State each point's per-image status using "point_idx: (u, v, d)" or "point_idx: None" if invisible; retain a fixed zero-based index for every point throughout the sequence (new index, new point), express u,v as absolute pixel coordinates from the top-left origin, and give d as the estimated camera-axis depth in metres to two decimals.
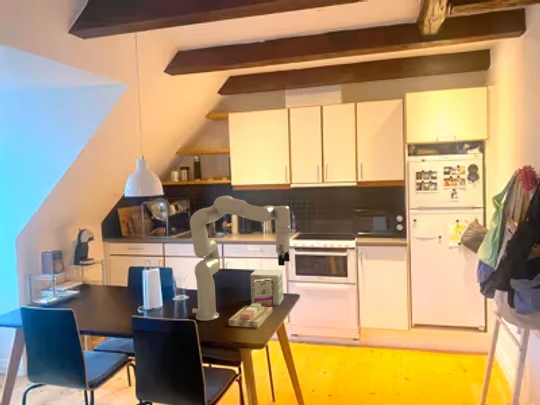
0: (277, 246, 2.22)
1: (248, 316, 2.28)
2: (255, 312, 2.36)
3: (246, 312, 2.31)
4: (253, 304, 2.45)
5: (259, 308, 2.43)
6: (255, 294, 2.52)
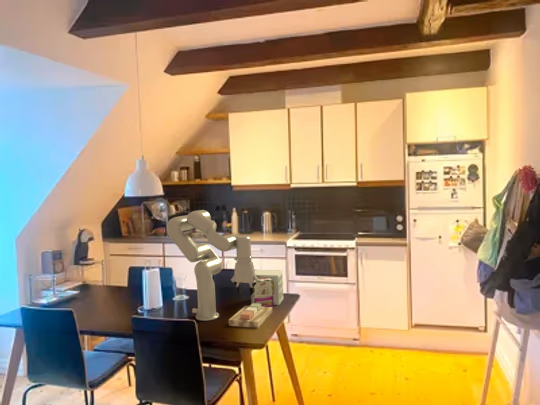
0: (252, 275, 2.26)
1: (248, 316, 2.28)
2: (255, 312, 2.36)
3: (246, 312, 2.31)
4: (253, 304, 2.45)
5: (259, 308, 2.43)
6: (255, 294, 2.52)
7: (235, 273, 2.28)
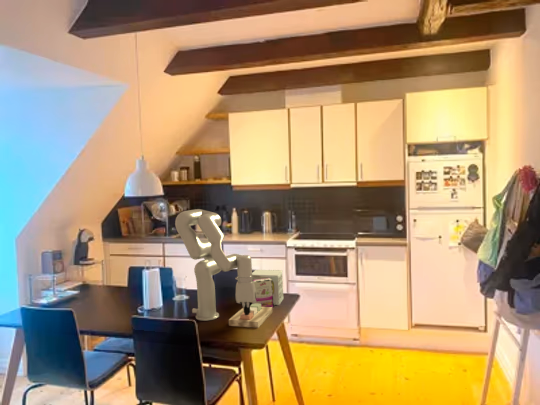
0: (254, 294, 2.27)
1: (248, 317, 2.28)
2: (255, 312, 2.36)
3: None
4: (253, 304, 2.45)
5: (259, 308, 2.43)
6: None
7: (236, 293, 2.28)
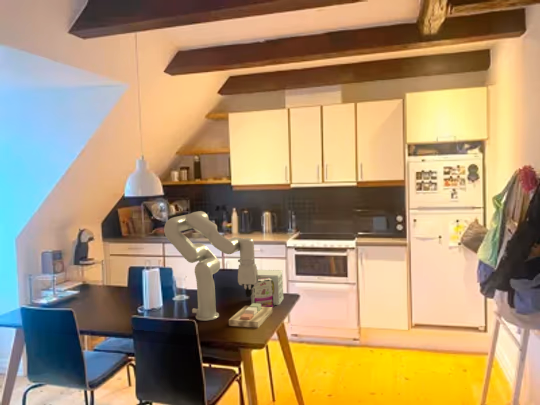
0: (255, 277, 2.30)
1: (248, 318, 2.28)
2: (255, 312, 2.36)
3: (246, 314, 2.31)
4: (253, 304, 2.45)
5: (259, 308, 2.43)
6: (255, 294, 2.52)
7: (238, 275, 2.32)
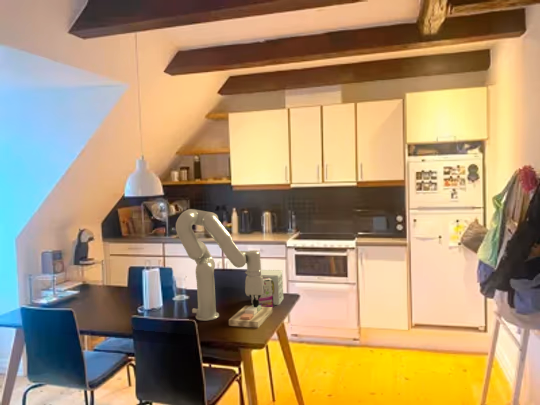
0: (262, 288, 2.40)
1: (248, 318, 2.28)
2: (255, 312, 2.36)
3: (246, 314, 2.31)
4: (253, 306, 2.45)
5: (259, 310, 2.43)
6: None
7: (246, 286, 2.42)
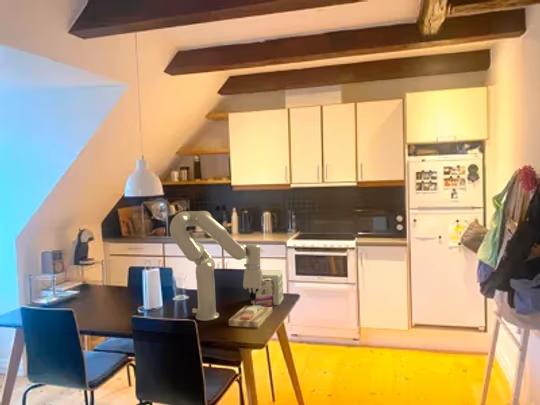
0: (260, 281, 2.40)
1: (248, 318, 2.28)
2: (255, 312, 2.36)
3: (246, 314, 2.31)
4: (253, 306, 2.45)
5: (259, 310, 2.43)
6: None
7: (244, 279, 2.41)
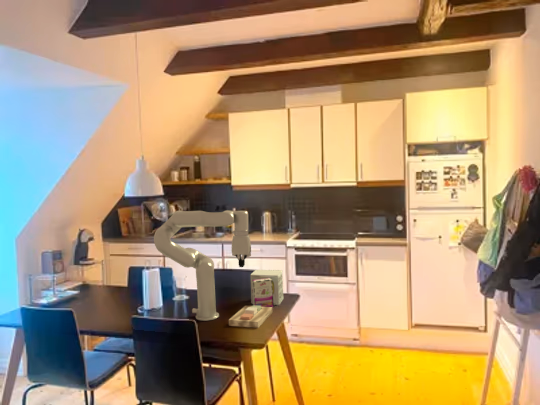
0: (249, 248, 2.39)
1: (248, 318, 2.28)
2: (255, 312, 2.36)
3: (246, 314, 2.31)
4: (253, 306, 2.45)
5: (259, 310, 2.43)
6: (255, 294, 2.52)
7: (232, 245, 2.41)
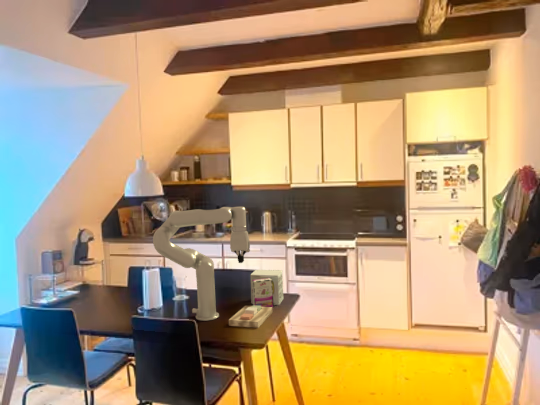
0: (247, 243, 2.39)
1: (248, 318, 2.28)
2: (255, 312, 2.36)
3: (246, 314, 2.31)
4: (253, 306, 2.45)
5: (259, 310, 2.43)
6: (255, 294, 2.52)
7: (231, 242, 2.41)
